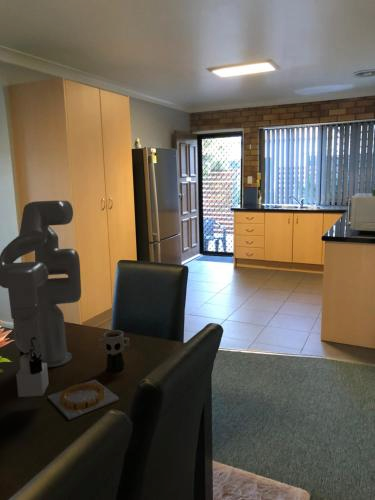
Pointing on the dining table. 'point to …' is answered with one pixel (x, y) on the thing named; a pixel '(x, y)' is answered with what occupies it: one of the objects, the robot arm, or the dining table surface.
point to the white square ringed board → (82, 398)
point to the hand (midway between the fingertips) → (31, 367)
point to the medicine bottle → (31, 378)
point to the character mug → (114, 348)
